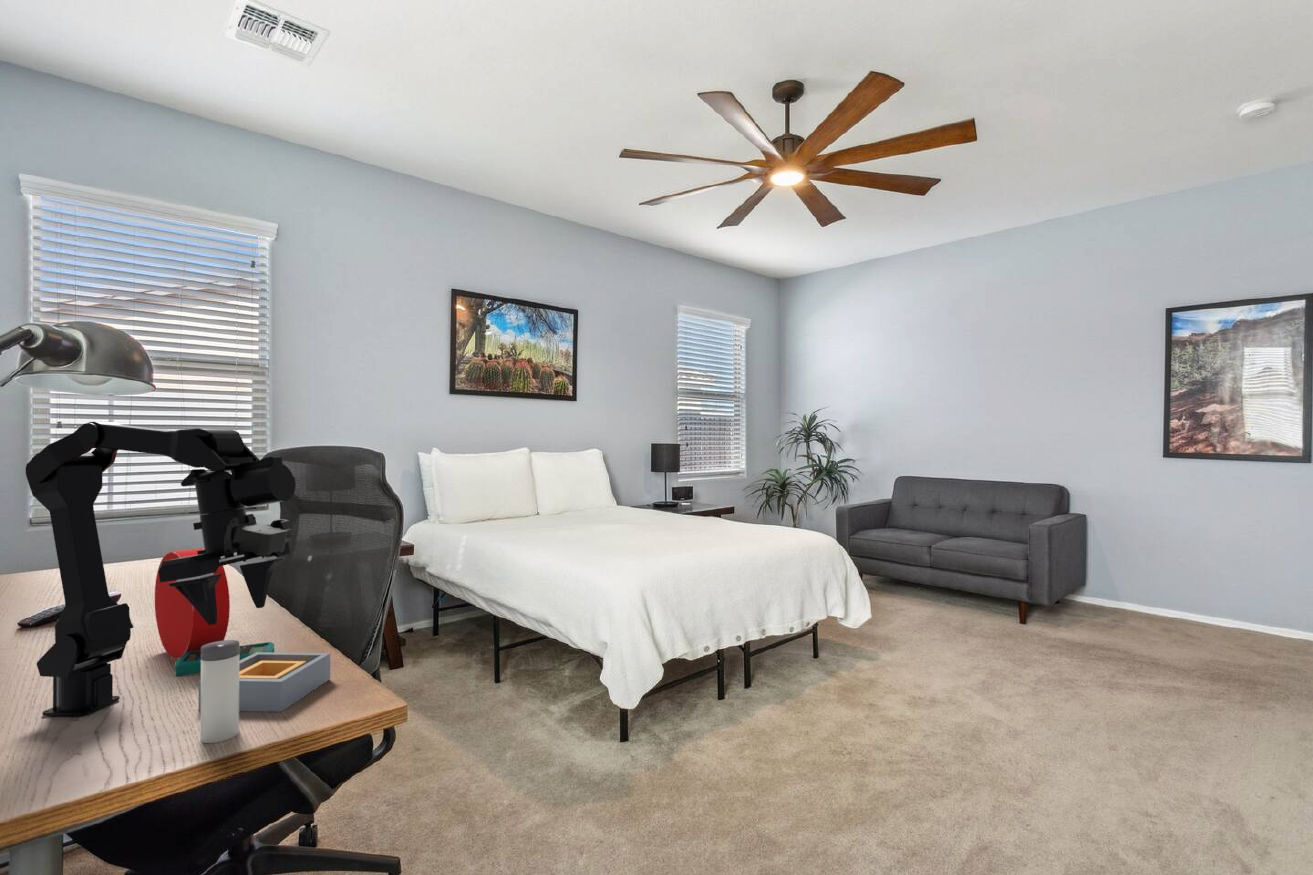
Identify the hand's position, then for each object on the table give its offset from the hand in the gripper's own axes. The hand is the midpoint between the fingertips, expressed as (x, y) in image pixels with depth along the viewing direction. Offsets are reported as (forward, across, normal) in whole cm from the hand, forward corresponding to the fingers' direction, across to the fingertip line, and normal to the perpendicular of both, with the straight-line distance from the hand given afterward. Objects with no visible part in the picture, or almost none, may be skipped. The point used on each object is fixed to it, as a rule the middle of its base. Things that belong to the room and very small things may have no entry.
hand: (237, 615), depth 95 cm
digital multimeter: (+12, +20, +21) cm, 32 cm away
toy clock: (+10, +25, +32) cm, 42 cm away
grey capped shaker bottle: (+15, -6, 0) cm, 16 cm away
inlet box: (+14, +8, +4) cm, 17 cm away
